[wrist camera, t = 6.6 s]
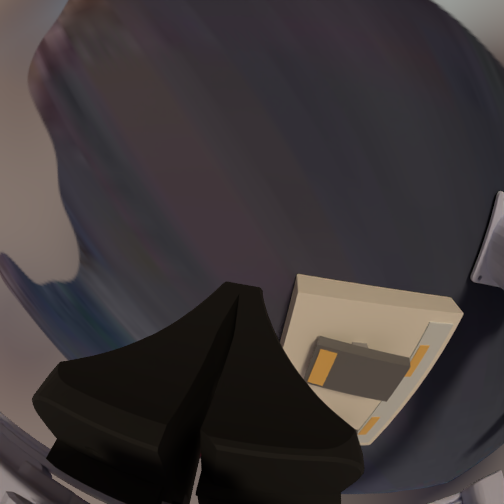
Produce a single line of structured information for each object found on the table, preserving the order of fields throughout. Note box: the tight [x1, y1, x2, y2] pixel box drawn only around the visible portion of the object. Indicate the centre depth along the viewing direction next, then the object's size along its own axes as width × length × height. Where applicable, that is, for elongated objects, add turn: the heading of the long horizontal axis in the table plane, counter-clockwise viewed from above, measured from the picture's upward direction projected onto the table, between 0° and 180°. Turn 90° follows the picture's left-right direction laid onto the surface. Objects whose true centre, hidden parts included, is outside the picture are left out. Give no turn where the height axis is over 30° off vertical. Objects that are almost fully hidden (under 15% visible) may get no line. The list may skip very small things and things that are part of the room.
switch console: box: [280, 274, 464, 445], centre depth 22 cm, size 14×20×3 cm
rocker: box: [304, 336, 411, 402], centre depth 18 cm, size 7×4×1 cm, turn 81°
